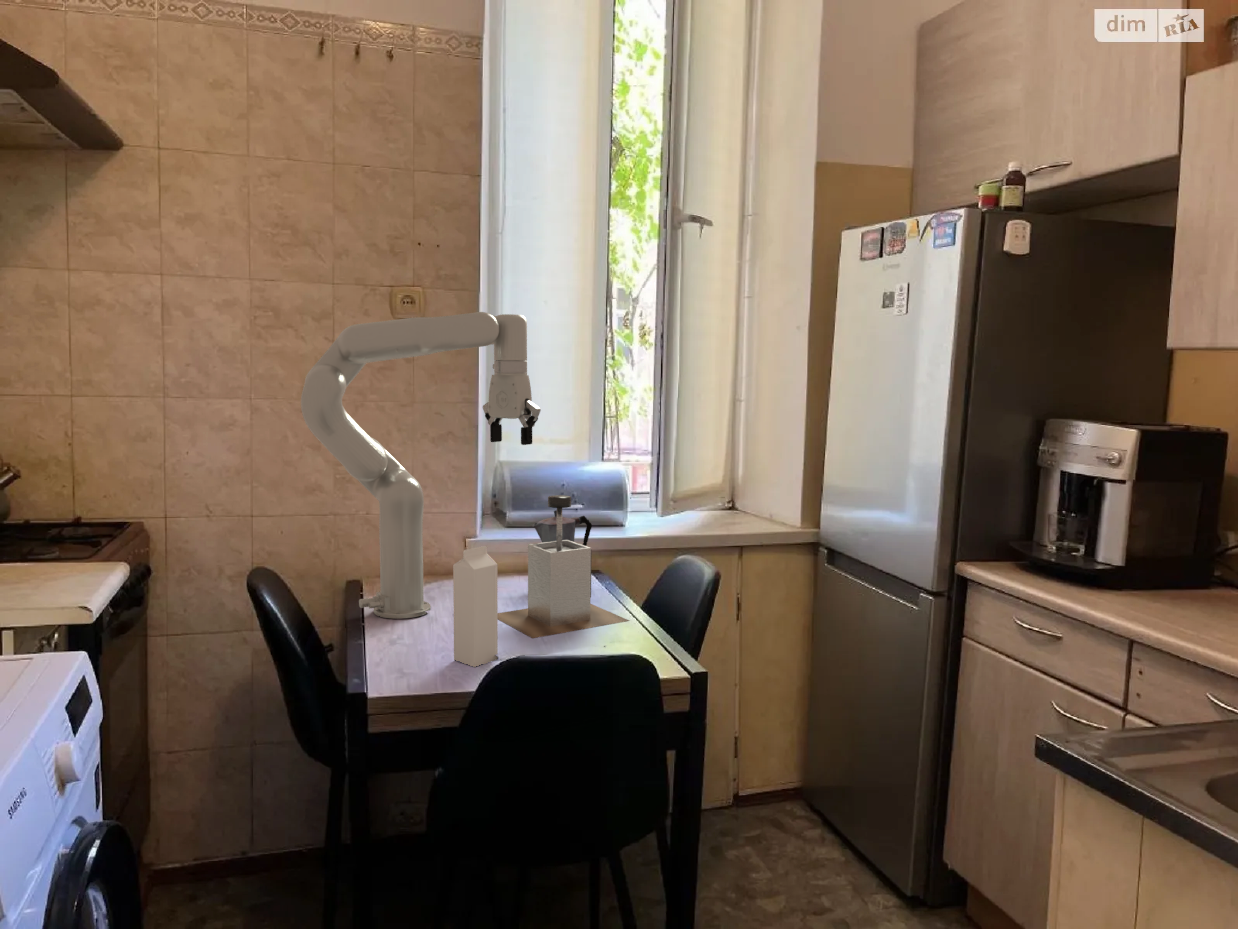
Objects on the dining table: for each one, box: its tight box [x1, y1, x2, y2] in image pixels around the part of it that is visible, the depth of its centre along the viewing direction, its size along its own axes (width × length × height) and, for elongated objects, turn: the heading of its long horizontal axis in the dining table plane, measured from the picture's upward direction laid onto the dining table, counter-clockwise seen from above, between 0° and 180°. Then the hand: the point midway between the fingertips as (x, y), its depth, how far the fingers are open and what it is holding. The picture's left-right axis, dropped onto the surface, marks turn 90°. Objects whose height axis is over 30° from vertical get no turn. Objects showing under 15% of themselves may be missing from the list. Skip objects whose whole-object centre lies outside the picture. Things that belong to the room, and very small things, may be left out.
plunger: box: [545, 494, 572, 552], centre depth 199 cm, size 8×8×13 cm
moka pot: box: [532, 509, 593, 547], centre depth 231 cm, size 10×15×20 cm, turn 115°
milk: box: [452, 545, 499, 668], centre depth 175 cm, size 6×6×22 cm
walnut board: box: [498, 603, 630, 639], centre depth 201 cm, size 24×20×1 cm
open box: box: [527, 540, 593, 627], centre depth 201 cm, size 13×10×16 cm
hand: (511, 443), depth 212 cm, fingers open, 9 cm apart
